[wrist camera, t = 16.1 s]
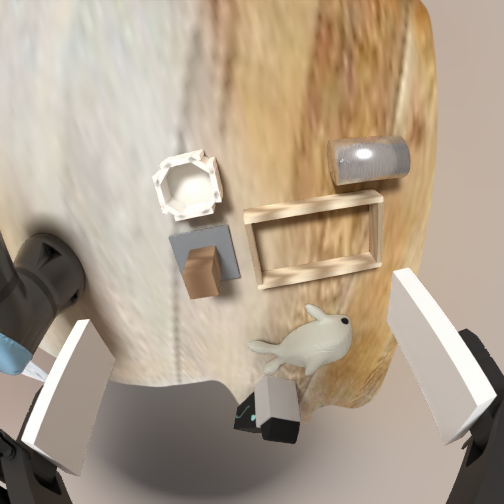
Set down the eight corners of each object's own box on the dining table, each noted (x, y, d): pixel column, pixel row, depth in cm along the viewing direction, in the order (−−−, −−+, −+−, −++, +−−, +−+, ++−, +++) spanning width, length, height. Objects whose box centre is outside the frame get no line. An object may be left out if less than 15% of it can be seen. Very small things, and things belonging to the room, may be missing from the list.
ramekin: (171, 213, 42) (165, 224, 38) (156, 160, 38) (148, 166, 34) (226, 201, 41) (224, 212, 38) (213, 146, 37) (210, 150, 34)
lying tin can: (331, 184, 40) (343, 186, 34) (324, 142, 38) (335, 137, 32) (393, 176, 39) (413, 177, 33) (387, 137, 37) (406, 132, 32)
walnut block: (196, 271, 46) (190, 299, 40) (189, 249, 44) (181, 275, 38) (221, 267, 46) (218, 295, 39) (215, 245, 44) (211, 270, 38)
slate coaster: (186, 284, 48) (185, 286, 47) (169, 235, 43) (168, 237, 43) (239, 275, 47) (239, 277, 47) (227, 224, 43) (227, 226, 42)
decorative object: (230, 410, 67) (230, 461, 54) (266, 373, 60) (271, 433, 47) (258, 416, 69) (261, 465, 56) (297, 382, 62) (306, 438, 49)
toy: (353, 348, 57) (366, 384, 49) (267, 372, 60) (271, 410, 51) (343, 287, 49) (361, 326, 41) (240, 318, 52) (240, 360, 43)
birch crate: (257, 276, 47) (258, 289, 44) (243, 209, 42) (243, 219, 39) (373, 255, 46) (381, 266, 43) (373, 189, 41) (383, 196, 38)
